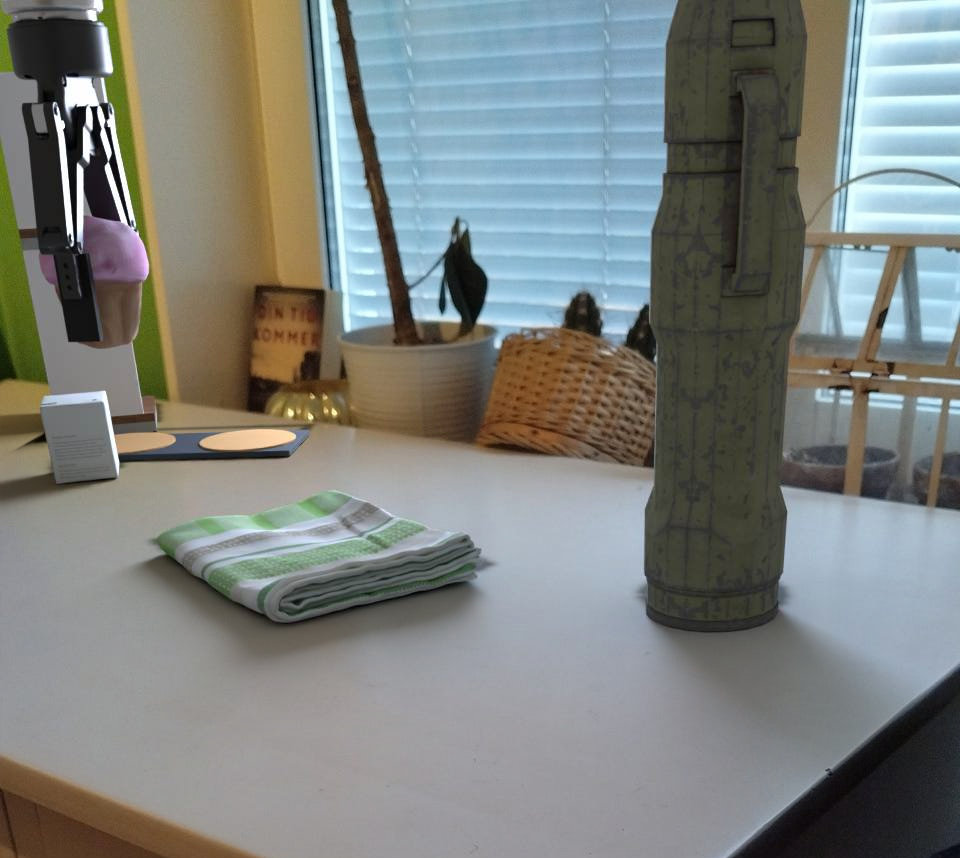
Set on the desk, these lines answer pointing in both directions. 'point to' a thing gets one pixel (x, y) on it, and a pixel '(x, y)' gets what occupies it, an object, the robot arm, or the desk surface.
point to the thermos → (724, 311)
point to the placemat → (208, 444)
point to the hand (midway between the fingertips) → (105, 332)
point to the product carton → (80, 436)
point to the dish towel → (319, 556)
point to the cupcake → (111, 277)
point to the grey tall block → (63, 360)
